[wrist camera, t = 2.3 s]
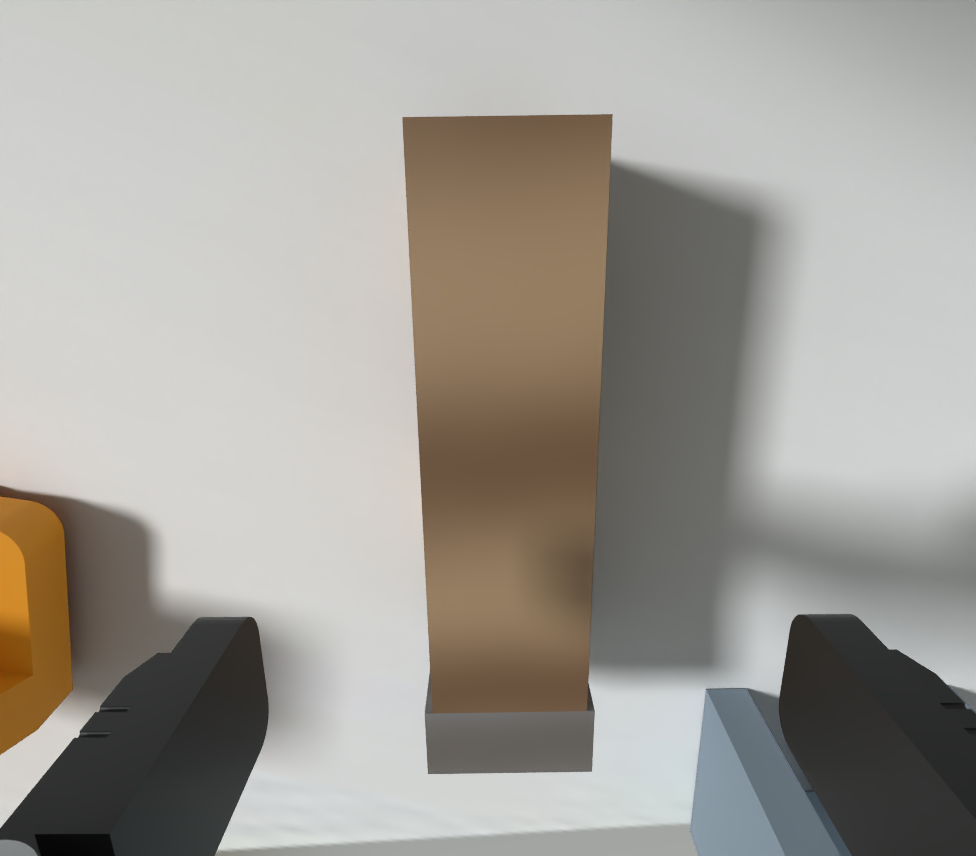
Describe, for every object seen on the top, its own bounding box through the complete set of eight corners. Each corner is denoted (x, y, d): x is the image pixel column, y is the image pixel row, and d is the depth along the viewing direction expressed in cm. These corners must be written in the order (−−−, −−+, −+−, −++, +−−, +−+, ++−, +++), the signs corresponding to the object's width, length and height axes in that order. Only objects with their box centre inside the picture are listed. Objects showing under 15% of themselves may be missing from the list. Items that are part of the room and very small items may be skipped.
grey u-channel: (706, 689, 23) (803, 893, 16) (948, 685, 23) (1151, 887, 16) (690, 831, 26) (769, 1066, 18) (912, 827, 26) (1077, 1062, 18)
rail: (421, 151, 18) (391, 117, 12) (578, 148, 18) (623, 113, 12) (442, 635, 23) (428, 773, 17) (564, 633, 23) (591, 771, 17)
